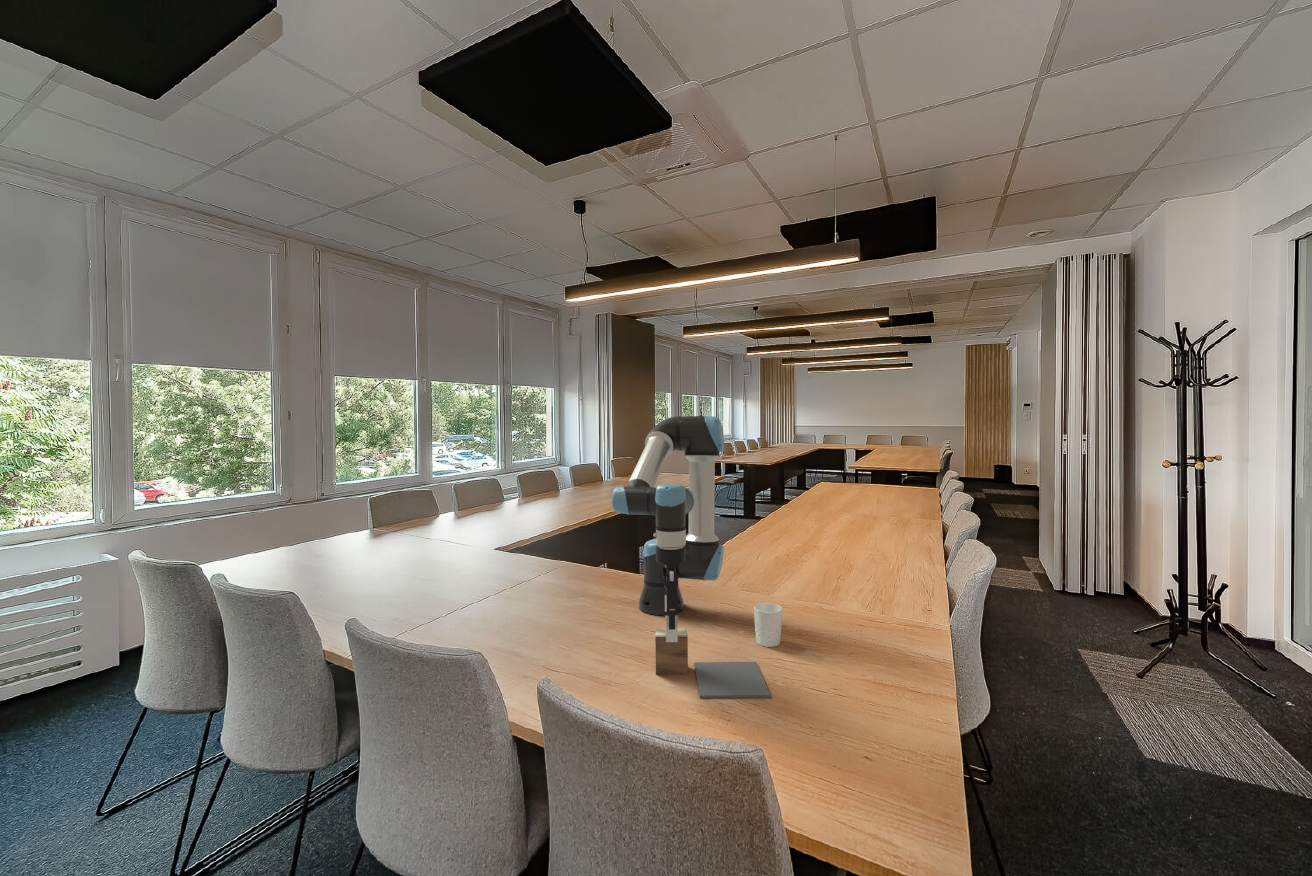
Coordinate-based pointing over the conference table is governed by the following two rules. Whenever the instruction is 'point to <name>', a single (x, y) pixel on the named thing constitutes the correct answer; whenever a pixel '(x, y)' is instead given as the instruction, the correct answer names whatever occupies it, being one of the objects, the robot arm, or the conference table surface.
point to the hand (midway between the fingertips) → (670, 630)
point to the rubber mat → (730, 680)
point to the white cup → (768, 624)
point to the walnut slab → (671, 653)
